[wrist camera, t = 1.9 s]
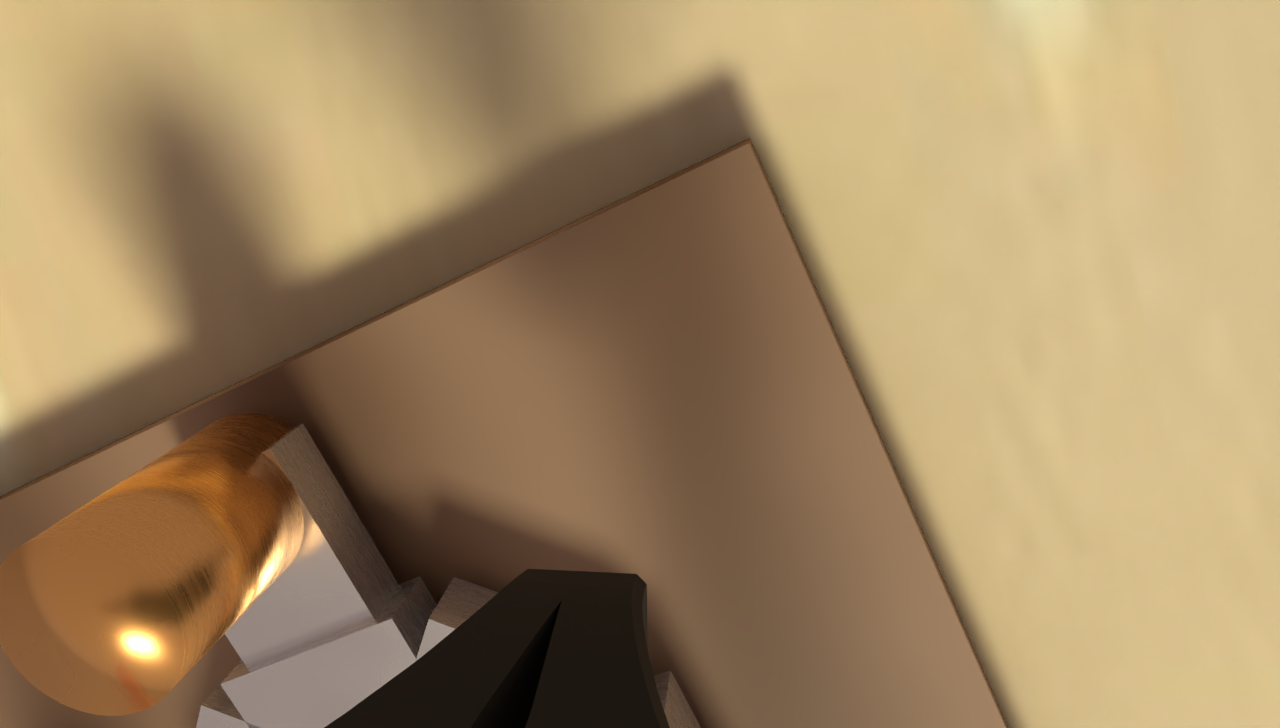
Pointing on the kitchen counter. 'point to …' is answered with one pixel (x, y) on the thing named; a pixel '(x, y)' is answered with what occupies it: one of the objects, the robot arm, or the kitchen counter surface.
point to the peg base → (614, 464)
